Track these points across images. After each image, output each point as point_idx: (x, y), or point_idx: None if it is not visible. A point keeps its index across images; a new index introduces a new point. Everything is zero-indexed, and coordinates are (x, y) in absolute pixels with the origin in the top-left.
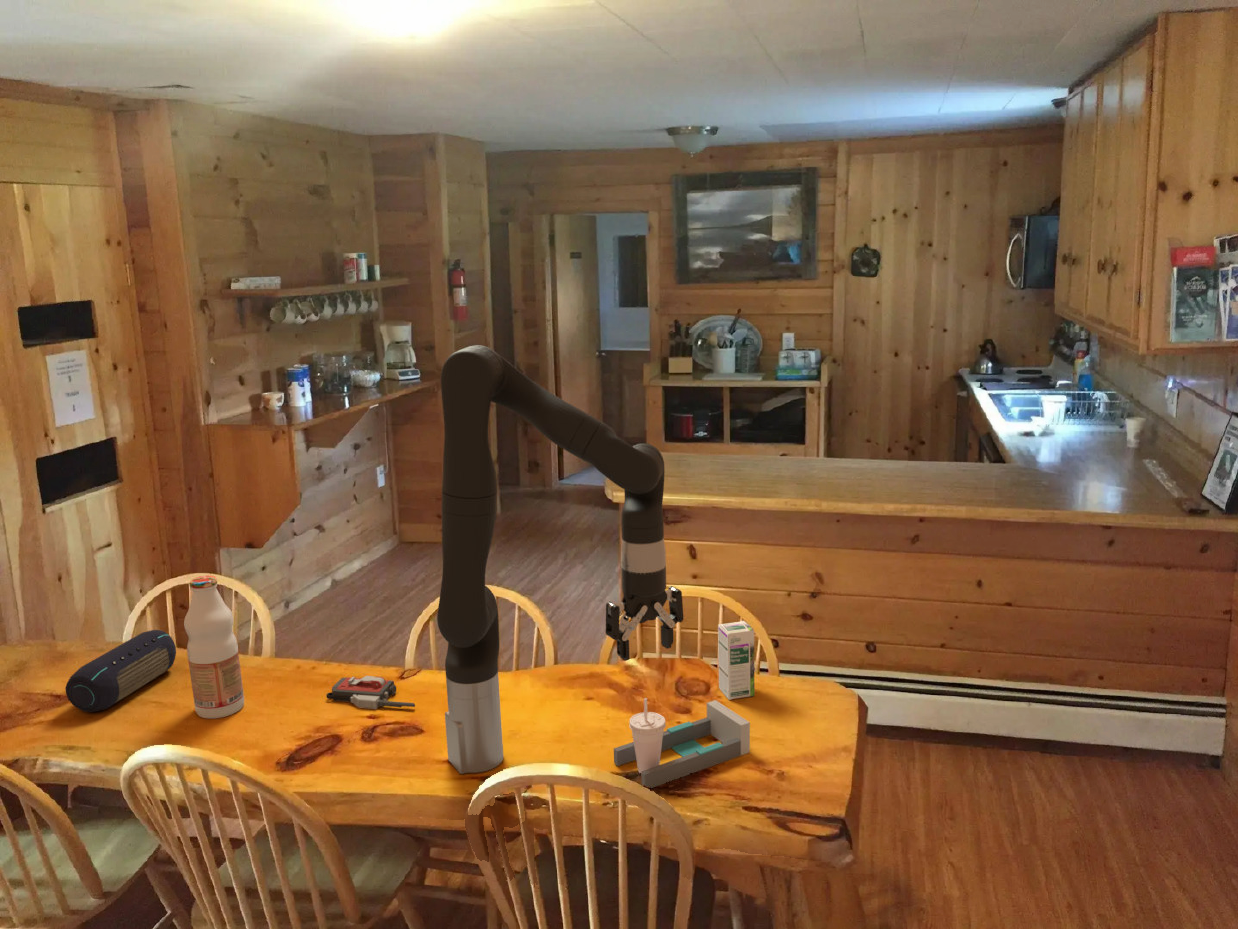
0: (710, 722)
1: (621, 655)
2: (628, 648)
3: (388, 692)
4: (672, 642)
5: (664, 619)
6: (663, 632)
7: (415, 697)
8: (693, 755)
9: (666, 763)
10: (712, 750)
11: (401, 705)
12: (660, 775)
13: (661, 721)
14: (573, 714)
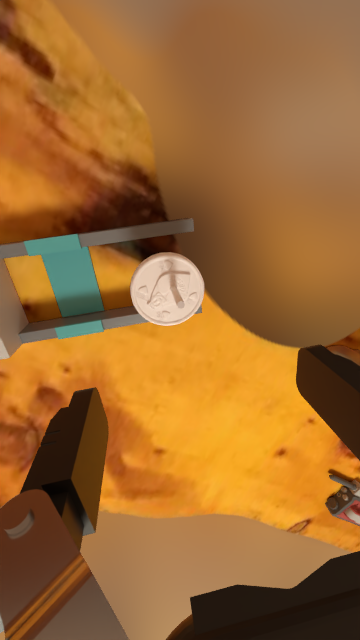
0: (20, 332)
1: (350, 361)
2: (344, 377)
3: (338, 500)
4: (58, 414)
5: (94, 590)
6: (93, 477)
7: (316, 490)
8: (90, 238)
9: (145, 235)
10: (49, 238)
11: (340, 478)
12: (161, 222)
13: (142, 277)
14: (191, 425)
